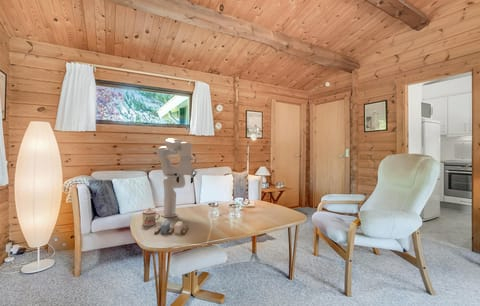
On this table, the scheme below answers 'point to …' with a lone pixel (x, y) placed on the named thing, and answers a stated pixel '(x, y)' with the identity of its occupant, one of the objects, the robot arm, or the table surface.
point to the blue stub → (165, 227)
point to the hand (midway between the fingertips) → (184, 182)
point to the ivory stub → (178, 227)
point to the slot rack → (171, 231)
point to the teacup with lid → (149, 217)
